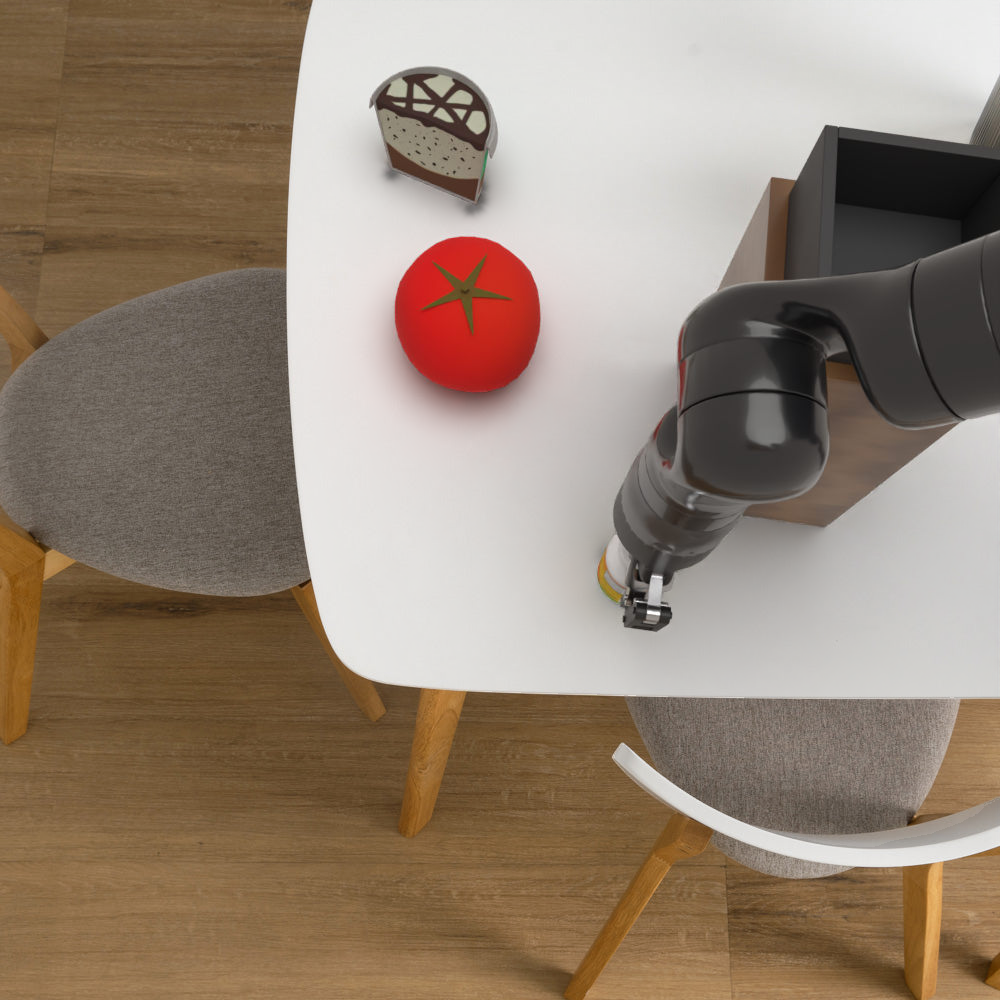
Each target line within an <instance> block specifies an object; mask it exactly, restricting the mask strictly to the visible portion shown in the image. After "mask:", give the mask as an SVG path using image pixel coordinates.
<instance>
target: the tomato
mask: <svg viewBox="0 0 1000 1000" xmlns="http://www.w3.org/2000/svg"><path fill="white" fill-rule="evenodd" d="M541 316H542V315H541V302H540V296H539V289H538V286H537V283H536V281H535V279H534V276H533V274H532V271H531V270H530V269H529V268H528V266H527V265H526V264H525V263H524V261H522V259H520V258H519V257H518V256H517V255H515V254H514V253H513V252H512V251H511V250H510V249H508V248H506V247H505V246H503V245H502V244H500V243H499V242H496V241H494V240H491V239H489V238H485V237H479V236H462V235H460V236H456V237H455V236H454V237H448V238H445V239H443V240H441V241H438V242H435V244H433V245H431V246H429V247H428V248H427V249H426V250H424V251H423V252H422V253H421V254H420V255H419V256H418V257H416V258H415V260H414V261H413V262H412V263H411V264H410V266H409V267H408V268H407V269H406V270H405V272H404V275H403V276H402V278H401V279H400V281H399V283H398V287H397V289H396V294H395V299H394V325H395V329H396V334H397V338H398V340H399V342H400V345H401V348H402V349H403V352H404V354H405V355H406V357H407V358H408V360H409V362H410V363H411V364H412V365H413V367H414V368H415V369H416V370H417V371H418V372H419V373H420V374H421V375H422V376H424V377H425V378H427V379H428V380H429V381H431V382H433V383H434V384H436V385H439V386H442V387H444V388H446V389H450V390H453V391H454V390H455V391H458V392H464V393H465V392H466V393H488V392H491V391H495V390H499V389H501V388H505V387H506V386H508V385H510V384H511V383H512V382H514V381H515V380H517V379H518V378H519V377H520V376H521V374H523V372H524V371H525V370H526V369H527V367H528V366H529V364H530V362H531V360H532V357H533V355H534V354H535V350H536V346H537V343H538V340H539V337H540V331H541V330H540V329H541V320H542V319H541Z"/></svg>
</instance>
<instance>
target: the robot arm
mask: <svg viewBox="0 0 1000 1000" xmlns="http://www.w3.org/2000/svg"><path fill="white" fill-rule="evenodd" d="M846 351H848V353H849V356H850V359H851V361H852V364H853V367H854V370H855V373H856V376H857V379H858V381H859V383H860V385H861V388H862V390H863V392H864V394H865V396H866V398H867V400H868V402H869V403H870V405H871V407H872V408H873V409H874V411H875V412H876V413H877V414H878V415H879V416H880V417H881V418H882V419H883V420H884V421H886V422H887V423H888V424H890V425H892V426H894V427H897V428H900V429H906V430H920V429H928V428H934V427H939V426H944V425H949V424H953V423H958V422H960V423H962V422H965V421H967V420H975V419H980V418H983V417H988V416H991V415H996V414H1000V230H998V231H995V232H993V233H991V234H987V235H984V236H981V237H978V238H976V239H973V240H970V241H967V242H964V243H961V244H959V245H956V246H953V247H950V248H947V249H944V250H942V251H939V252H936V253H933V254H930V255H928V256H925V257H924V258H919V259H916V260H914V261H911V262H909V263H906V264H903V265H900V266H896V267H892V268H887V269H881V270H874V271H866V272H857V273H849V274H840V275H831V276H823V277H815V278H803V279H789V280H771V281H757V282H748V283H740V284H736V285H732V286H729V287H725V288H723V289H721V290H719V291H717V290H716V291H715V292H713V293H711V294H710V295H708V296H707V297H705V298H704V299H703V300H702V301H700V302H699V303H698V304H697V305H696V306H695V307H694V308H693V309H692V310H691V311H690V312H689V313H688V314H687V316H686V317H685V319H684V321H683V322H682V324H681V326H680V329H679V331H678V336H677V341H676V402H675V403H674V404H672V405H671V406H670V407H669V408H668V409H667V410H666V411H665V412H664V414H663V415H662V416H661V417H660V418H659V420H657V423H656V425H655V426H654V427H653V430H652V432H650V435H649V437H648V439H647V441H646V443H645V445H644V446H643V447H642V449H640V451H639V452H638V453H637V454H636V456H635V458H634V459H633V461H632V463H631V465H630V467H629V469H628V471H627V473H626V476H625V477H624V480H623V482H622V484H621V487H620V488H619V489H618V492H617V494H616V497H615V499H614V504H613V509H612V511H613V512H612V518H613V525H614V529H615V533H616V534H617V536H618V538H619V540H620V541H621V543H622V545H623V546H624V547H625V549H626V550H627V551H628V561H627V565H626V569H625V585H626V586H627V590H626V592H625V593H624V594H623V596H622V597H621V600H620V604H619V608H621V609H624V615H623V614H622V619H621V620H622V621H621V622H622V624H623V628H627V629H634V630H641V631H647V632H653V633H658V632H659V631H660V630H662V629H663V628H665V627H667V626H668V625H669V624H670V623H671V620H672V619H673V612H672V607H671V606H669V602H667V601H662V596H663V594H664V593H665V594H666V593H668V592H670V591H671V589H672V587H673V584H674V580H675V578H676V575H677V572H679V571H682V570H686V569H688V568H691V567H693V566H695V565H697V564H700V563H701V562H702V561H703V560H705V559H706V558H707V557H708V556H709V555H710V554H712V553H713V551H714V550H715V549H716V548H717V546H719V545H720V544H721V543H722V542H723V540H724V539H726V537H727V536H728V535H729V534H730V533H731V532H732V531H733V530H734V529H735V528H736V526H737V525H738V524H739V523H740V520H741V519H742V518H743V517H744V515H743V514H744V511H745V510H746V509H747V508H748V507H749V506H750V505H752V504H763V503H774V502H779V501H785V500H788V499H792V498H795V497H798V496H800V495H802V494H804V493H805V492H807V491H809V490H810V489H811V488H812V487H813V486H814V485H815V484H816V483H817V481H818V480H819V478H820V477H821V475H822V473H823V471H824V468H825V465H826V463H827V459H828V455H829V449H830V423H829V405H828V389H827V372H826V359H827V358H828V357H830V356H832V355H835V354H838V353H841V352H846ZM637 564H638V569H636V565H637ZM639 588H641V589H647V592H641V591H636V590H637V589H639Z"/></svg>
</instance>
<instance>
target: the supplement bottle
mask: <svg viewBox="0 0 1000 1000" xmlns="http://www.w3.org/2000/svg"><path fill="white" fill-rule="evenodd" d="M627 561H628V551H627V550H626V549H625V547H624V546H623V545H622V543H621V541H620V540H619V538H618V536H617V533H616V534H614V535H613V537H612V538H611V539H610V541H609V542H608V544H607V546H606V548H605V550H604V551H603V553H602V555H601V558H600V559H599V562H598V565H597V567H596V568H597V569H596V580H597V584H598V587H599V589H600V590H601V592H602V593H603V595H604V596H605V597H606V598H607V599H608V600H609V601H611V602H613V603H615V604H617V605H620V600H621V597H622V596H623V594H624V593H625V592H626V590H627V586H626V585H625V569H626V565H627ZM636 569H638V564H637V565H636ZM636 591H641V592H647V589H641V588H639V589H637V590H636Z"/></svg>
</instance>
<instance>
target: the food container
mask: <svg viewBox="0 0 1000 1000" xmlns="http://www.w3.org/2000/svg"><path fill="white" fill-rule="evenodd" d="M368 104H369V105H368V109H372V108H374V110H375V114H376V119H377V122H378V126H379V130H380V133H381V138H382V141H383V145H384V146H383V147H384V150H385V153H386V157H387V161H388V164H389V169H390V170H391V171H394V172H396V173H399V174H401V175H404V176H406V177H408V178H411V179H413V180H416V181H418V182H420V183H423V184H425V185H428V186H430V187H433V188H435V189H438V190H440V191H442V192H445V193H447V194H449V195H451V196H454V197H456V198H459V199H461V200H463V201H465V202H469V203H471V204H473V205H478V202H479V200H480V197H481V194H482V188H483V185H484V177H485V172H486V167H487V161H488V155H489V158H490V159H493V157H494V155H495V152H496V149H497V146H498V139H499V129H498V122H497V119H496V115H495V112H494V109H493V106H492V104H491V102H490V100H489V98H488V96H487V95H486V94H485V92H484V91H483V89H482V88H481V87H480V86H479V85H478V84H477V83H476V82H474V81H473V80H472V79H471V78H469V77H468V76H467V75H465V74H462V73H461V72H459V71H456V70H453V69H451V68H448V67H447V68H446V67H441V66H435V65H434V66H433V65H423V66H422V65H421V66H415V67H409V68H406V69H403V70H400V71H398V72H396V73H394V74H392V75H391V76H389V77H388V78H386V79H385V80H383V81H382V82H381V83H380V84H379V85H378V86H377V87H376V88H375V90H373V92H372V94H371V97H370V98H369V103H368ZM373 106H374V107H373Z"/></svg>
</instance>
